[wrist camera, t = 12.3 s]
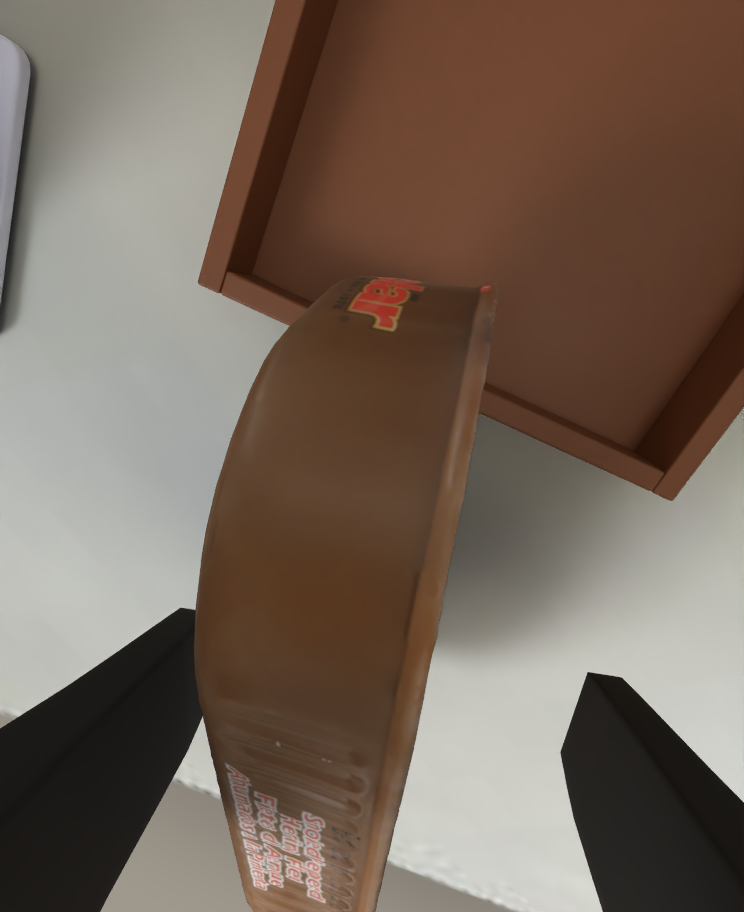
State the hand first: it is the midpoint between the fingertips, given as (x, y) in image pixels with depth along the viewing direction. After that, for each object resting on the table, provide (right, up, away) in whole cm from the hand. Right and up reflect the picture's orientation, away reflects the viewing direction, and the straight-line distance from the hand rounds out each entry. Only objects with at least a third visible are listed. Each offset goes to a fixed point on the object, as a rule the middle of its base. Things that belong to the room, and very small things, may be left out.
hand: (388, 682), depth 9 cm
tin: (0, +3, +5) cm, 6 cm away
